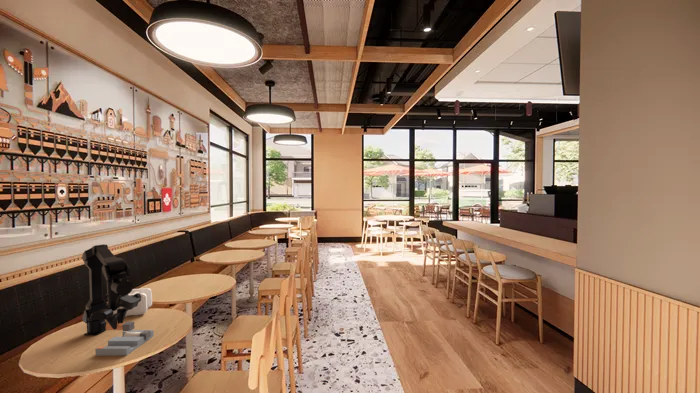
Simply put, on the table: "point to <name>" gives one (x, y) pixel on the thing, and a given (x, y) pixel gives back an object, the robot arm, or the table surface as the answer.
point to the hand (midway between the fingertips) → (117, 327)
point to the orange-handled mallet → (122, 326)
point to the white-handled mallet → (139, 334)
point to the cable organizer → (144, 303)
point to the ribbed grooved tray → (122, 344)
